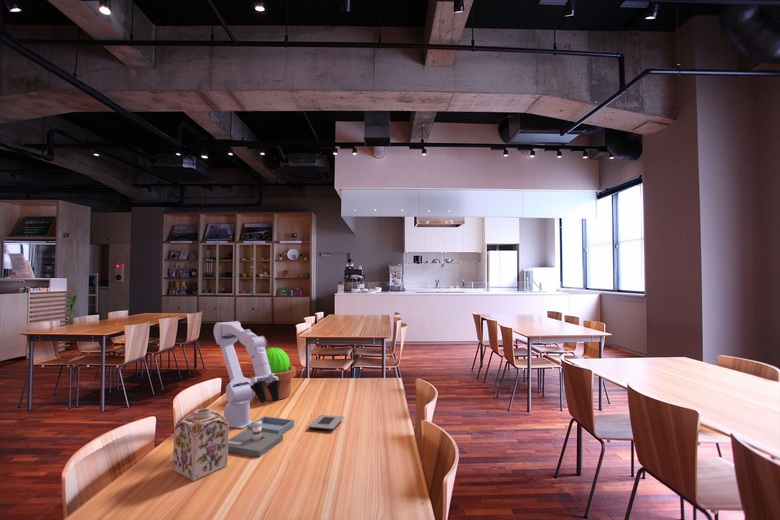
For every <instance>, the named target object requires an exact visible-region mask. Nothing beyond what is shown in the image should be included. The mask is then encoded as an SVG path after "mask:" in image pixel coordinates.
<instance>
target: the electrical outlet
mask: <svg viewBox="0 0 780 520" xmlns="http://www.w3.org/2000/svg"><path fill="white" fill-rule="evenodd" d="M344 418H345V416H342V415H341V416H339V415H327V414H320V415H319V416H317V417H316V418H315V419H314V420H313V421H312V422H311V423H310V424H309V425H307V427H308V429H314V430H325V431H333V430H334V429H335V428H336V427H338V425H339V424H340V423H341V422H342V420H344Z"/></svg>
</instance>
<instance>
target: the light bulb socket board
mask: <svg viewBox="0 0 780 520" xmlns="http://www.w3.org/2000/svg"><path fill="white" fill-rule="evenodd" d="M252 431H253V430H247V429H245V430H243V431H241V432H240V433H238V434H236V435H234V436H233V437H230V438H228V453H232V454H238V455H245V456H251V457H255V458H261V457H263V456H264V455H265V454H266V453H268V452H269V451H271V449H274V447H276V446H277V445H279V444H280V443H281V442H282V441H283V440H284V434H282V435H281V434H274V433H267V432H261V440H260V441H259V442H255V441H252Z"/></svg>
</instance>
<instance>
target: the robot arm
mask: <svg viewBox="0 0 780 520" xmlns="http://www.w3.org/2000/svg"><path fill="white" fill-rule="evenodd" d="M213 337H214V339H215V343H216V344H217V345H219V347H220V351H221V354H222V356H223V359H224V364H225V367H226V371H227V373H228V378H229V380H230V381H229V383H227V385H226V387H225V392H226V393H225V394H226V400H227V403H226V404H225V406H224V410H223V415H224V417H225V419H226V420H227V422H228V423H229V428H233V427H234V428H235V429H243V428H246V427H247V426H248V425H250V424H252V423H253V421H254V420H252V419H250V412H251V411H250V408H251V406H250V403H251V402H252V400H253V399H254V398H255V394H256V395H257V397H258V398H259V402H260V403H261V404H264V403H266V402H267V397H266V390H265V386H266V383H270V384H269V385H268V386H266V387H267V389H268V390H269V392H270V394H271V397H272V400H273V401H272V402H273V403H275V402H278V401H280V400H279V387H280V383H281V381H280V380H278V377H276V376H274V373H271V369H270V366H269V362H268V358H267V354H266V350H267V348H268V342H267V339H266V338H265V336H264V335H260V336H258V335H257V334H255V333H254V332H252V331H251V329H249V328H248V329H244V328H243V327H242V326H241V322H240V321H239V320H235V321H223V322H216V323H215V324H214V327H213ZM238 341H239V342H240V344H242V345H243V346H244V347H245V350H246V352H247V354H248V356H249V358H251V363H252V366H253V367H252V368H254V371H255V376H256V377H253V378H251V379H250V378H248V377H245V376H244V374H243V372H242V369H241V365H240V363H239V362H240V361H239V359H238V356H237V352H236V350H235V346H234V344H235V343H237V342H238ZM234 428H233V429H234Z"/></svg>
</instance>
